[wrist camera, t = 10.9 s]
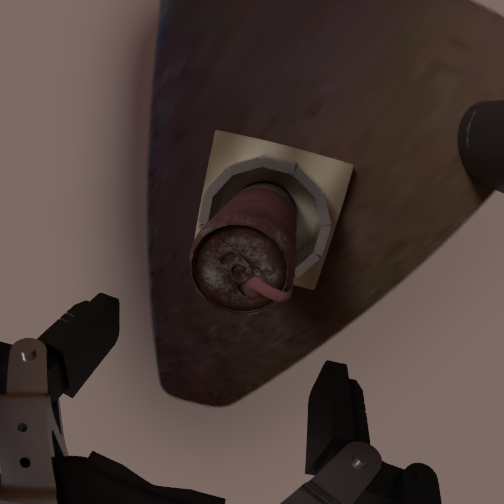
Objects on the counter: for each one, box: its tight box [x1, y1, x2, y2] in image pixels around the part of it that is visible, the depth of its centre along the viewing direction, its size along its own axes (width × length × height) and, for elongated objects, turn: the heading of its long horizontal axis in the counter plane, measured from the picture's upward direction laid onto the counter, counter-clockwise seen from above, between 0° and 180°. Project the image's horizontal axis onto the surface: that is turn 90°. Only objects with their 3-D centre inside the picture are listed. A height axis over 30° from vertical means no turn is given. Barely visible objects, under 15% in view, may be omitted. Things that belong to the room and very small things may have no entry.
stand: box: [194, 130, 354, 290], centre depth 31 cm, size 13×13×1 cm
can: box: [189, 181, 297, 316], centre depth 24 cm, size 6×6×14 cm
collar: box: [198, 154, 331, 280], centre depth 29 cm, size 11×11×4 cm
